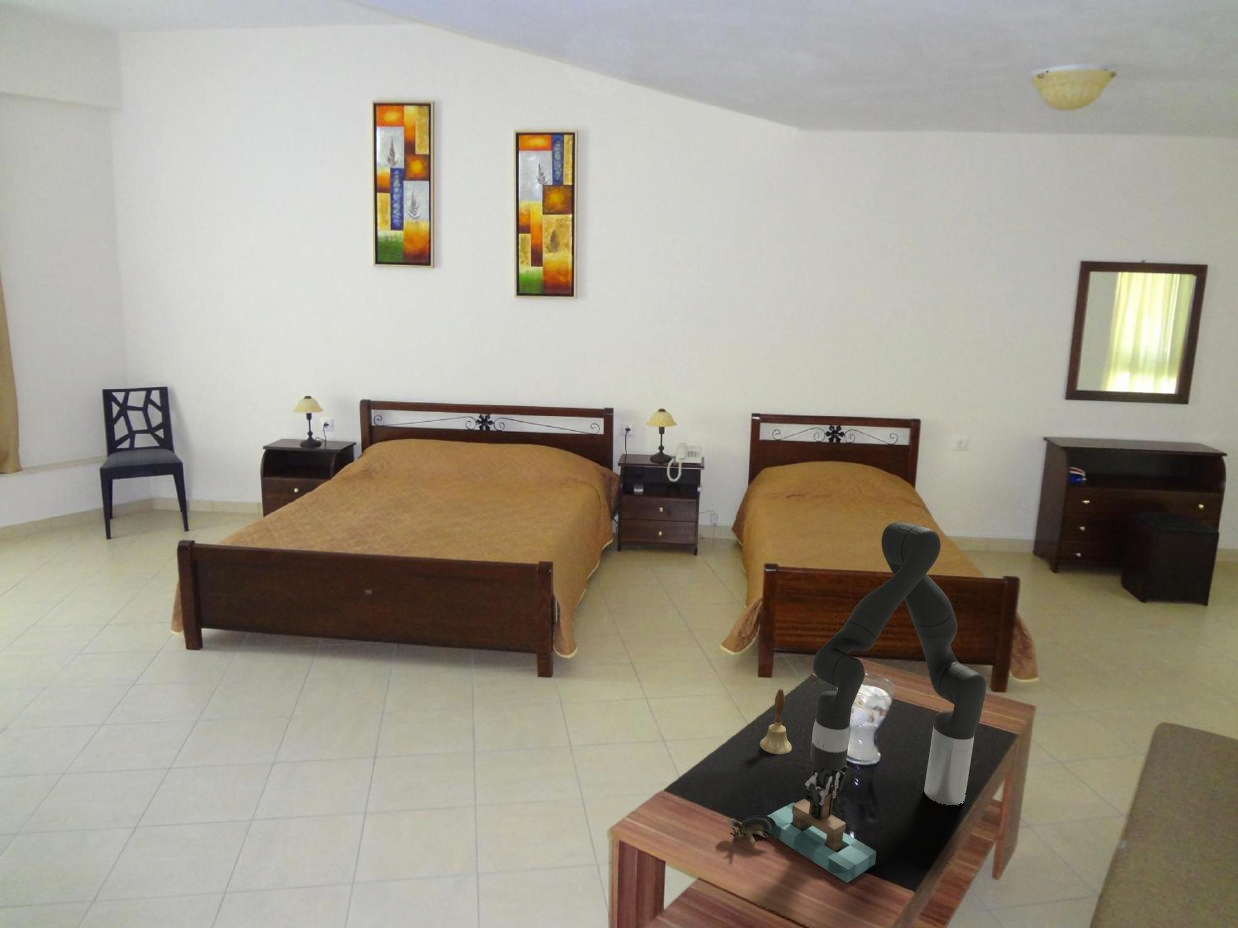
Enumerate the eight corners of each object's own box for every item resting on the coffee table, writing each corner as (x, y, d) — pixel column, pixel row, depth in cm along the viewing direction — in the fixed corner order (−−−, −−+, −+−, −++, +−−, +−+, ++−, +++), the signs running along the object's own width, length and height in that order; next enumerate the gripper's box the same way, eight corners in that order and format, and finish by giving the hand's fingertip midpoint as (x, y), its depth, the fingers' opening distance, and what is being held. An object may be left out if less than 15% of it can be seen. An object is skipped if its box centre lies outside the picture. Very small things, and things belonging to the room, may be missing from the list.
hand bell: (754, 747, 231) (760, 690, 228) (767, 735, 238) (773, 680, 234) (784, 758, 226) (790, 700, 223) (796, 745, 233) (802, 689, 230)
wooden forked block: (790, 827, 194) (794, 784, 192) (801, 821, 196) (806, 778, 194) (831, 853, 186) (837, 808, 183) (843, 846, 188) (848, 801, 186)
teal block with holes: (763, 829, 196) (764, 817, 195) (791, 813, 202) (793, 801, 202) (846, 882, 179) (848, 869, 179) (874, 864, 186) (876, 851, 185)
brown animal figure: (750, 854, 185) (782, 835, 189) (736, 820, 186) (769, 802, 191) (732, 853, 191) (763, 835, 196) (719, 821, 193) (750, 803, 197)
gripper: (824, 759, 179) (815, 835, 182) (864, 739, 188) (855, 812, 191) (795, 743, 184) (786, 817, 188) (835, 724, 193) (826, 796, 197)
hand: (821, 814), depth 189 cm, fingers closed on wooden forked block, 3 cm apart
